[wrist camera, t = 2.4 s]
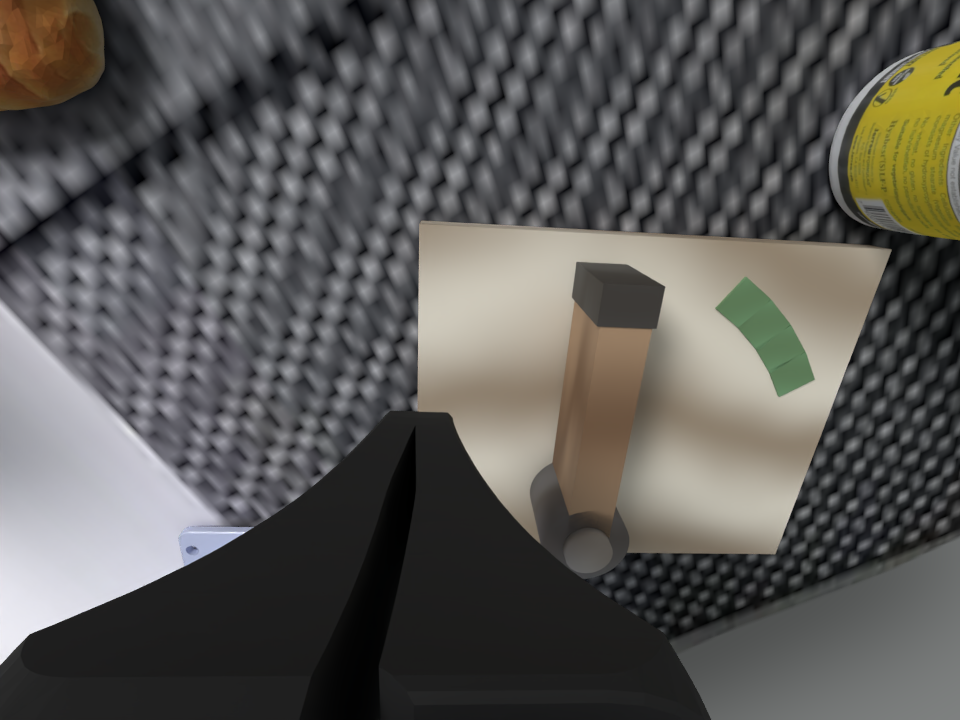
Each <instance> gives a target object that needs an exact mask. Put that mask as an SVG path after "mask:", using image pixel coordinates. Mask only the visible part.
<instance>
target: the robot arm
mask: <svg viewBox="0 0 960 720" xmlns="http://www.w3.org/2000/svg"><path fill="white" fill-rule="evenodd" d="M179 544H180V548H181V553H182V557H183V561H184V565H185V566H184V567H182V568H180V569H178V570H176V571H174V572H172V573H170V574H168V575H166V576H164V577H162V578H160V579H158V580H156V581H154V582H152V583H150V584H147V585H145V586H143V587H141V588H139V589H137V590H134V591H132V592H130V593H128V594H125V595H123V596H121V597H118V598H116V599H114V600H111V601H109V602H107V603H104V604H102V605H99V606H97V607H95V608H92V609H90V610H88V611H85V612H83V613H81V614H78V615H76V616H73V617H71V618H69V619H66V620H64V621H62V622H59V623H57V624H55V625H52V626H50V627H47V628H44V629H42V630H39V631H37V632H34V633H32V634H30V635H29V636H28V637H27V638H26V639H25V640H24V641H23V642H22V643H21V644H20V645H19V646H18V647H17V648H16V649H15V650H14V651H13V652H12V653H11V654H10V655H9V657H8V658H7V659H6V660H5V661H4V662H3V663H2V664H1V665H0V720H711V719H710V716H709V714H708V712H707V710H706V708H705V705H704V703H703V701H702V699H701V697H700V695H699V693H698V691H697V689H696V688H695V686H694V684H693V682H692V680H691V679H690V677H689V675H688V673H687V671H686V670H685V668H684V666H683V665H682V663H681V661H680V659H679V658H678V656H677V654H676V653H675V651H674V649H673V648H672V646H671V644H670V643H669V641H668V639H667V637H666V636H665V634H664V633H663V632H661V631H660V630H658V629H657V628H655V627H654V626H652V625H650V624H649V623H647V622H646V621H644V620H643V619H641V618H639V617H638V616H636V615H635V614H633V613H632V612H630V611H629V610H627V609H625V608H624V607H622V606H621V605H619V604H618V603H616V602H615V601H613V600H611V599H610V598H608V597H607V596H605V595H604V594H602V593H601V592H599V591H598V590H597V589H595V588H594V587H593V586H591V585H590V584H589V583H587V582H586V581H585V580H583V579H582V578H581V577H579V576H578V575H577V574H575V573H574V572H573V571H571V570H570V569H569V568H567V567H566V566H565V565H564V564H563V563H561V562H560V561H559V560H558V559H557V558H556V557H555V556H553V555H552V554H551V553H550V552H549V551H548V550H547V549H546V548H544V547H543V546H542V545H541V544H540V543H539V542H538V541H537V540H535V539H534V538H533V537H532V536H531V535H530V534H529V533H528V532H527V531H526V530H525V529H524V528H523V526H522V525H521V524H520V523H519V522H518V521H517V520H516V519H515V518H514V517H513V516H512V514H511V513H510V512H509V511H508V510H507V509H506V508H505V506H504V505H503V504H502V503H501V502H500V500H499V499H498V498H497V496H496V495H495V494H494V493H493V491H492V490H491V488H490V487H489V486H488V484H487V483H486V481H485V480H484V479H483V477H482V476H481V474H480V473H479V471H478V470H477V468H476V466H475V465H474V463H473V461H472V460H471V458H470V456H469V454H468V453H467V451H466V449H465V447H464V445H463V443H462V441H461V439H460V437H459V435H458V433H457V430H456V428H455V425H454V422H453V417H452V416H451V415H450V414H449V413H448V412H415V411H390V412H389V413H388V414H386V415H385V416H384V417H383V419H382V420H381V421H380V422H379V423H378V424H377V425H376V426H375V428H374V429H373V430H372V431H371V432H370V433H369V434H368V435H367V436H366V437H365V438H364V439H363V440H362V441H361V442H360V443H359V444H358V445H357V446H356V447H355V448H354V449H353V450H352V451H351V452H350V453H349V454H348V455H347V456H346V457H345V458H344V459H343V460H342V461H341V462H340V463H339V464H338V465H337V466H336V467H335V468H333V469H332V470H331V471H330V472H329V473H328V474H327V475H325V476H324V477H323V478H322V479H321V480H320V481H319V482H317V483H316V484H315V485H314V486H313V487H312V488H310V489H309V490H308V491H307V492H305V493H304V494H303V495H301V496H300V497H299V498H297V499H296V500H294V501H293V502H292V503H290V504H289V505H287V506H286V507H285V508H283V509H282V510H280V511H279V512H278V513H276V514H274V515H273V516H271V517H270V518H268V519H267V520H265V521H264V522H262V523H260V524H259V525H257V526H255V527H204V526H192V527H187V528H185V529H184V530H183V532H182V533H181V534H180V536H179ZM193 546H195V547H196V548H194V547H193Z"/></svg>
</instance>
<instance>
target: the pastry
mask: <svg viewBox="0 0 960 720" xmlns="http://www.w3.org/2000/svg"><path fill="white" fill-rule="evenodd" d="M104 70H105V58H104V33H103V26H102V21H101V18H100V15H99V12H98V10H97V7H96V5H95V3H94V1H93V0H0V111H5V110H22V109H29V108H36V107H45V106H51V105H56V104H60V103H62V102H65V101H67V100H69V99H71V98H72V97H74V96H76V95H78V94H80V93H82V92H84V91H86V90H88V89H91V88H92V87H93V86H95V85H96V84H97V82H98V81H99V79H100V77H101V75H102V73H103V72H104Z"/></svg>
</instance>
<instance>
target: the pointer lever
mask: <svg viewBox="0 0 960 720" xmlns="http://www.w3.org/2000/svg"><path fill="white" fill-rule="evenodd" d="M664 292H665V286H663V285H662V284H660V283H658V282H657V281H655V280H653V279H651V278H650V277H648V276H646V275H645V274H643V273H641V272H639V271H638V270H636V269H634V268H633V267H631V266H629V265H627V264H611V263H590V262H576V269H575V277H574V284H573V292H572V298H573V300H574V309H573V316H572V323H571V330H570V338H569V345H568V352H567V360H566V367H565V374H564V381H563V389H562V396H561V403H560V411H559V418H558V425H557V432H556V440H555V447H554V454H553V462H552V463H551V464H549V465H547V466H546V467H544V468H543V469H542V470H541V471H540V472H539V473H538V474H537V475H536V476H535V478H534V479H533V481H532V484H531V487H530V499H531V503H532V508H533V512H534V517H535V521H536V526H537V530H538V535H539V539H540V544H541V545H542V546H543V547H544V548H546V549H547V550H548V551H549V552H550V553H551V554H552V555H553V556H555V557H556V558H557V559H558V560H559V561H560V562H561V563H563V564H564V565H565V566H566V567H567V568H569V569H570V570H571V571H573V572H574V573H575V574H577V575H578V576H579V577H581V578H582V579H588V578H593V577H597V576H600V575H603V574H605V573H607V572H609V571H610V570H612V569H613V568H615V567H616V566H617V565H618V564H619V563H620V562H621V561H622V560H623V558H624V557H625V555H626V553H627V551H628V548H629V534H628V531H627V529H626V526H625V524H624V522H623V520H622V518H621V516H620V514H619V512H618V509H617V507H616V503H617V498H618V493H619V488H620V483H621V478H622V474H623V469H624V464H625V459H626V454H627V449H628V445H629V440H630V435H631V430H632V425H633V420H634V415H635V411H636V406H637V401H638V396H639V391H640V386H641V382H642V377H643V372H644V367H645V362H646V357H647V352H648V348H649V343H650V338H651V333H652V329H657V325H658V320H659V315H660V311H661V306H662V301H663V296H664Z"/></svg>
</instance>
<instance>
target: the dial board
mask: <svg viewBox="0 0 960 720" xmlns="http://www.w3.org/2000/svg"><path fill="white" fill-rule="evenodd" d="M891 251H892V249H887V248H881V247H876V246H871V245H860V244H842V243H824V242H805V241H787V240H769V239H750V238H732V237H713V236H695V235H677V234H658V233H640V232H622V231H603V230H585V229H566V228H548V227H530V226H511V225H493V224H475V223H456V222H438V221H421V222H420V224H419V321H418V412H448V413H449V414H450V415H451V416H452V417H453V422H454V425H455V428H456V430H457V433H458V435H459V437H460V439H461V441H462V443H463V445H464V447H465V449H466V451H467V453H468V454H469V456H470V458H471V460H472V461H473V463H474V465H475V466H476V468H477V470H478V471H479V473H480V474H481V476H482V477H483V479H484V480H485V481H486V483H487V484H488V486H489V487H490V488H491V490H492V491H493V493H494V494H495V495H496V496H497V498H498V499H499V500H500V502H501V503H502V504H503V505H504V506H505V508H506V509H507V510H508V511H509V512H510V513H511V514H512V516H513V517H514V518H515V519H516V520H517V521H518V522H519V523H520V524H521V525H522V526H523V528H524V529H525V530H526V531H527V532H528V533H529V534H530V535H531V536H532V537H533V538H534V539H535V540H537V541H538V542H539V543H540V539H539V535H538V530H537V526H536V521H535V517H534V512H533V508H532V503H531V499H530V487H531V484H532V481H533V479H534V478H535V476H536V475H537V474H538V473H539V472H540V471H541V470H542V469H543V468H544V467H546V466H547V465H549V464H551V463H552V462H553V454H554V447H555V440H556V432H557V425H558V418H559V411H560V403H561V396H562V389H563V381H564V374H565V367H566V360H567V352H568V345H569V338H570V330H571V323H572V316H573V309H574V300H573V298H572V292H573V284H574V277H575V269H576V262H590V263H611V264H627V265H629V266H631V267H633V268H634V269H636V270H638V271H639V272H641V273H643V274H645V275H646V276H648V277H650V278H651V279H653V280H655V281H657V282H658V283H660V284H662V285H663V286H665V292H664V296H663V301H662V306H661V311H660V315H659V320H658V325H657V329H652V333H651V338H650V343H649V348H648V352H647V357H646V362H645V367H644V372H643V377H642V382H641V386H640V391H639V396H638V401H637V406H636V411H635V415H634V420H633V425H632V430H631V435H630V440H629V445H628V449H627V454H626V459H625V464H624V469H623V474H622V478H621V483H620V488H619V493H618V498H617V503H616V507H617V509H618V512H619V514H620V516H621V518H622V520H623V522H624V524H625V526H626V529H627V531H628V534H629V548H628V551H627V553H708V554H776V551H777V548H778V546H779V543H780V540H781V538H782V535H783V533H784V530H785V527H786V525H787V522H788V520H789V517H790V514H791V512H792V509H793V507H794V504H795V501H796V499H797V496H798V493H799V491H800V488H801V486H802V483H803V480H804V478H805V475H806V473H807V470H808V467H809V465H810V462H811V459H812V457H813V454H814V452H815V449H816V446H817V444H818V441H819V439H820V436H821V433H822V431H823V428H824V426H825V423H826V420H827V418H828V415H829V412H830V410H831V407H832V405H833V402H834V399H835V397H836V394H837V392H838V389H839V386H840V384H841V381H842V379H843V376H844V373H845V371H846V368H847V365H848V363H849V360H850V358H851V355H852V352H853V350H854V347H855V345H856V342H857V339H858V337H859V334H860V331H861V329H862V326H863V324H864V321H865V318H866V316H867V313H868V311H869V308H870V305H871V303H872V300H873V298H874V295H875V292H876V290H877V287H878V284H879V282H880V279H881V277H882V274H883V271H884V269H885V266H886V264H887V261H888V258H889V256H890V253H891Z"/></svg>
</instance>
